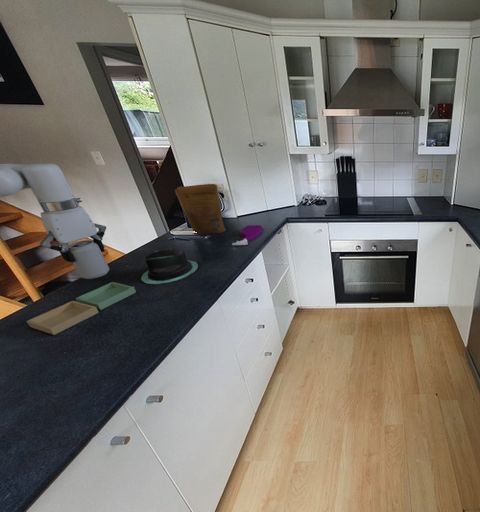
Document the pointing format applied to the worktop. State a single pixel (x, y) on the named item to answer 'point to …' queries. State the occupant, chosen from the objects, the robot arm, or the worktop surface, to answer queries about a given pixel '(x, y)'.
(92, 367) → the worktop surface
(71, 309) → the near tray
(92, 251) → the can
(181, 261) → the black and teal hat
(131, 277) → the worktop surface
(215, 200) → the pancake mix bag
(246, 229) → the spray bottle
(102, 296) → the far tray
